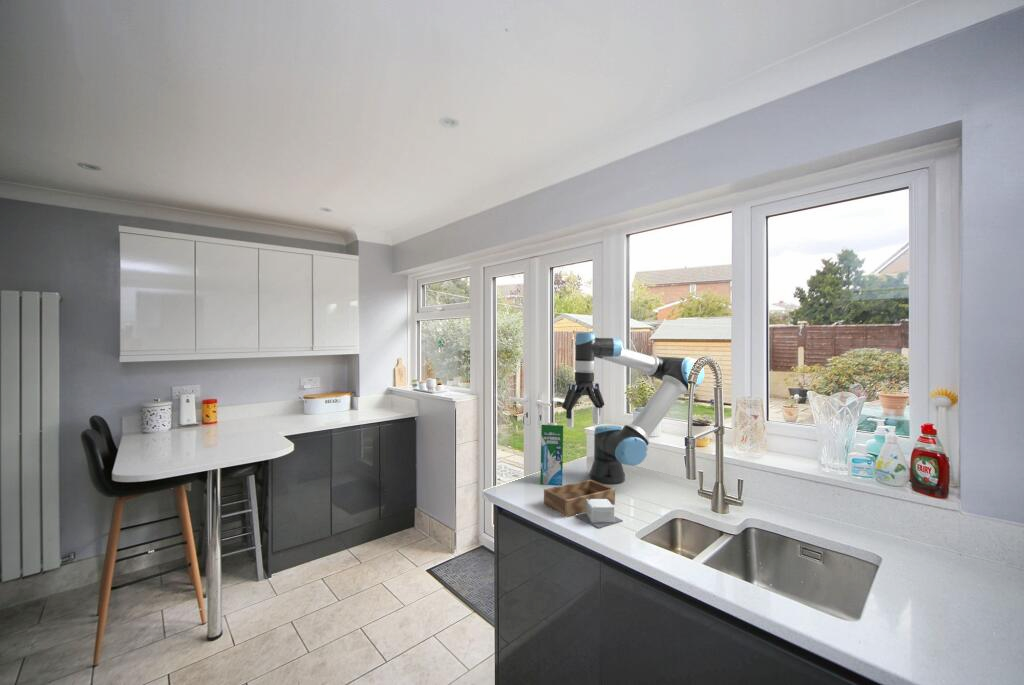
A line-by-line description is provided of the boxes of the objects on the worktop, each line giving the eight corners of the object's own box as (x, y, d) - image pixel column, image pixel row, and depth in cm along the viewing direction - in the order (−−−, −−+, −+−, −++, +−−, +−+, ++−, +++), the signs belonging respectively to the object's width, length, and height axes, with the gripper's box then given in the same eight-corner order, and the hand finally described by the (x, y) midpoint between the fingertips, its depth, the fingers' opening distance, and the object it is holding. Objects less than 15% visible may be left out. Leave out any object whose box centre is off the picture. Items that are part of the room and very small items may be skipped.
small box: (614, 522, 140) (615, 507, 140) (591, 523, 139) (591, 507, 139) (607, 513, 148) (607, 498, 148) (585, 513, 147) (585, 498, 147)
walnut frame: (590, 493, 168) (590, 479, 168) (614, 504, 157) (615, 489, 157) (543, 504, 156) (543, 489, 156) (566, 517, 145) (567, 501, 145)
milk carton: (561, 478, 186) (562, 421, 186) (562, 485, 177) (563, 425, 177) (541, 477, 187) (542, 420, 187) (540, 484, 178) (541, 424, 178)
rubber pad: (599, 510, 152) (599, 508, 152) (622, 521, 142) (622, 520, 142) (575, 516, 146) (575, 515, 146) (598, 528, 136) (598, 527, 136)
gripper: (600, 370, 178) (599, 421, 178) (553, 371, 165) (552, 426, 165) (613, 371, 172) (612, 424, 172) (566, 373, 158) (565, 430, 159)
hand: (583, 425), depth 168 cm, fingers open, 13 cm apart
